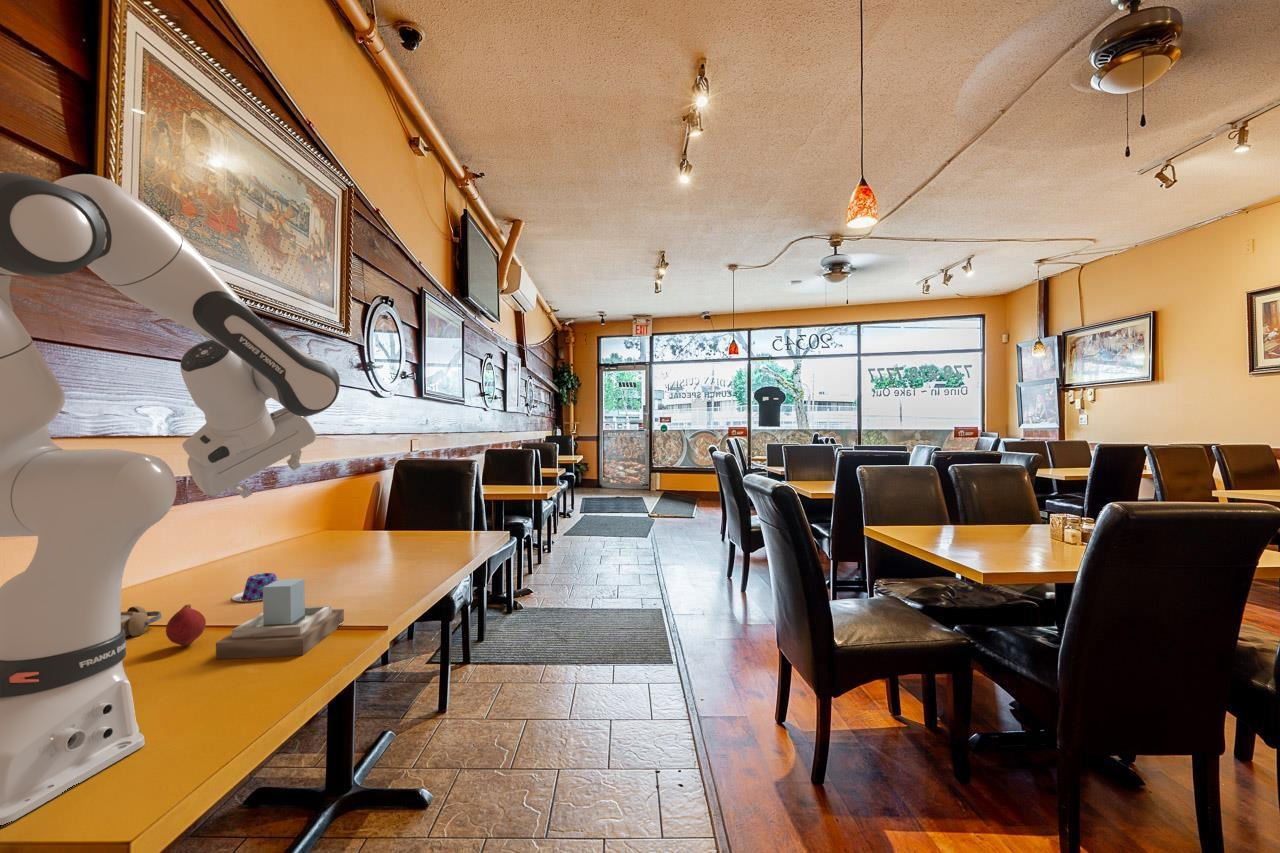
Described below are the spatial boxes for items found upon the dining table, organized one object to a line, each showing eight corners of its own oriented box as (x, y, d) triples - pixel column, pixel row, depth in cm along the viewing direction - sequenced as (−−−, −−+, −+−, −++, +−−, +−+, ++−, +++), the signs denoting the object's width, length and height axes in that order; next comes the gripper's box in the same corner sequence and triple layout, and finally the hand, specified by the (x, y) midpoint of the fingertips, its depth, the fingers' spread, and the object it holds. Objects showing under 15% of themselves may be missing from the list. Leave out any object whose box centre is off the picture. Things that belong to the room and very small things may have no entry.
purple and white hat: (288, 598, 133) (288, 577, 133) (227, 607, 127) (227, 585, 127) (292, 586, 143) (292, 566, 143) (236, 594, 137) (236, 573, 137)
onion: (182, 653, 100) (182, 610, 100) (158, 651, 101) (157, 608, 101) (213, 641, 106) (212, 600, 106) (189, 639, 107) (189, 598, 107)
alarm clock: (57, 626, 108) (156, 595, 118) (63, 649, 108) (161, 616, 119) (53, 641, 100) (160, 607, 110) (61, 666, 100) (166, 629, 111)
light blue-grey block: (290, 627, 103) (290, 586, 103) (263, 628, 103) (262, 587, 103) (304, 618, 108) (304, 578, 108) (278, 619, 108) (278, 579, 108)
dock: (303, 655, 98) (302, 630, 98) (216, 659, 97) (215, 634, 97) (343, 623, 114) (343, 602, 114) (269, 626, 113) (269, 604, 113)
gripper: (291, 393, 104) (313, 445, 113) (170, 449, 90) (206, 503, 99) (310, 406, 101) (331, 458, 110) (189, 466, 88) (225, 520, 97)
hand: (271, 480), depth 105 cm, fingers open, 8 cm apart
